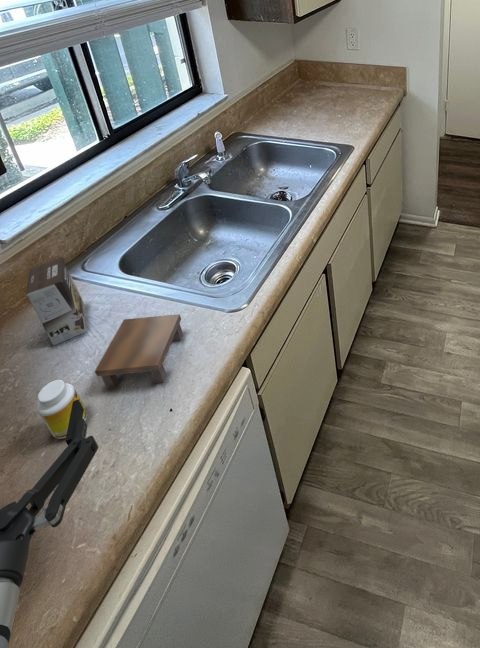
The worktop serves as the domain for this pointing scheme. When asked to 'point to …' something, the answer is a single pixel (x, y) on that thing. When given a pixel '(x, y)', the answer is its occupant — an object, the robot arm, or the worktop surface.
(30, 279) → the coffee box
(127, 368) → the stool
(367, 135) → the worktop surface
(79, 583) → the worktop surface
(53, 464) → the robot arm
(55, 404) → the supplement bottle
